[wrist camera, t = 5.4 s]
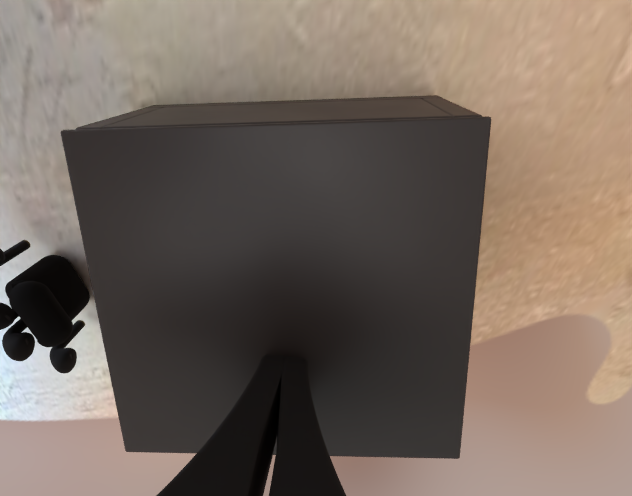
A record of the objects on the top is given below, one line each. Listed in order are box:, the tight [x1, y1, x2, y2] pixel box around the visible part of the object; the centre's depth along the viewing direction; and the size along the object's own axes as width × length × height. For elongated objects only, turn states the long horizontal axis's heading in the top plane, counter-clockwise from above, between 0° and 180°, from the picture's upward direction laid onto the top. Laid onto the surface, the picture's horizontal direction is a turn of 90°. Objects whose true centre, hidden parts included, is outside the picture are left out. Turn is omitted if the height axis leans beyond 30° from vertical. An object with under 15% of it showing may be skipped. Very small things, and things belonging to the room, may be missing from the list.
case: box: [76, 96, 482, 130], centre depth 15 cm, size 10×12×5 cm
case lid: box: [61, 117, 491, 459], centre depth 12 cm, size 11×12×1 cm
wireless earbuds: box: [0, 240, 90, 373], centre depth 18 cm, size 7×2×5 cm, turn 16°
